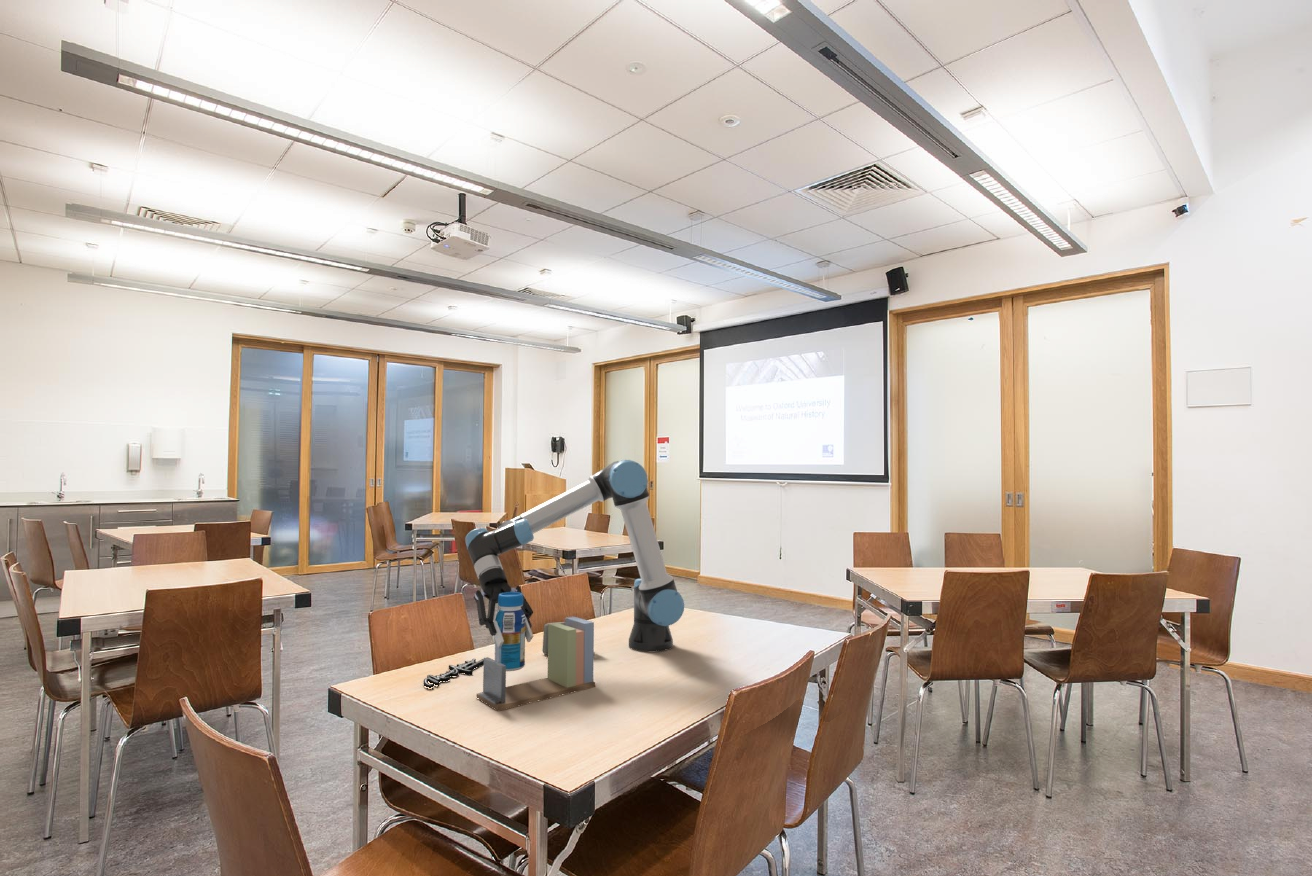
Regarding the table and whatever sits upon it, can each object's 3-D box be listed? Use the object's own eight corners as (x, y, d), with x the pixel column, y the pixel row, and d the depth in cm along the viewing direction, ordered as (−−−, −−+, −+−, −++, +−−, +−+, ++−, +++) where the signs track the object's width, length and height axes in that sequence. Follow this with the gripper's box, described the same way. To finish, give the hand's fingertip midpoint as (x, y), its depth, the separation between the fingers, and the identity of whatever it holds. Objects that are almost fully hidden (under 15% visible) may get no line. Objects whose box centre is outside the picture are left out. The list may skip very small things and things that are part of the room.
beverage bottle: (487, 668, 175) (488, 594, 176) (510, 661, 182) (511, 590, 183) (508, 674, 170) (510, 597, 172) (531, 666, 177) (532, 593, 179)
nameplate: (443, 686, 172) (410, 683, 174) (443, 692, 172) (410, 689, 174) (493, 659, 198) (464, 656, 201) (493, 664, 198) (464, 661, 201)
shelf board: (571, 676, 185) (571, 672, 185) (595, 686, 176) (595, 682, 176) (476, 698, 166) (476, 693, 166) (497, 711, 157) (497, 706, 157)
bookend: (487, 692, 167) (488, 657, 168) (505, 702, 159) (506, 665, 160) (478, 694, 165) (479, 658, 166) (496, 704, 158) (496, 667, 158)
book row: (573, 673, 184) (573, 616, 185) (593, 681, 177) (593, 622, 178) (547, 678, 179) (548, 620, 180) (567, 687, 171) (567, 626, 172)
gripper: (518, 579, 196) (544, 643, 183) (452, 586, 182) (475, 656, 169) (527, 563, 192) (554, 628, 179) (460, 569, 179) (484, 639, 165)
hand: (516, 641), depth 174 cm, fingers closed on beverage bottle, 8 cm apart
